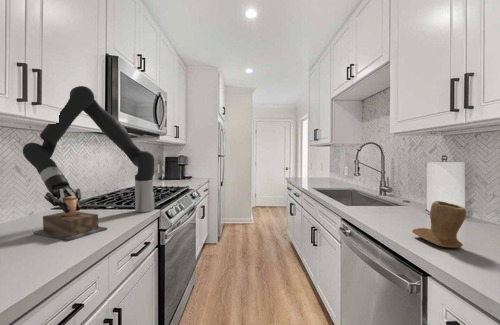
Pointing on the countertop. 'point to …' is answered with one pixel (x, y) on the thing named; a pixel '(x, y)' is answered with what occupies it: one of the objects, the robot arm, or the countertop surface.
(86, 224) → the hitch block
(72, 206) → the dowel pin
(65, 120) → the robot arm
